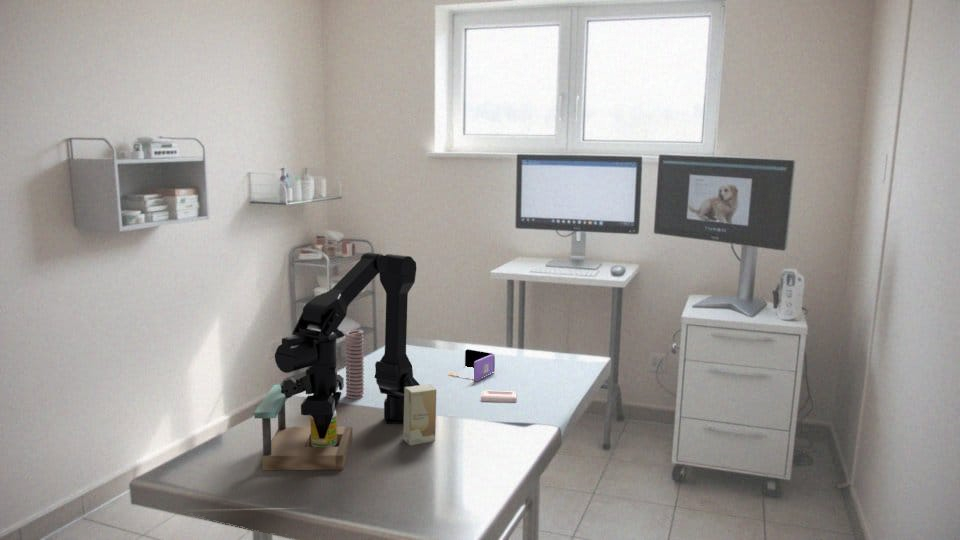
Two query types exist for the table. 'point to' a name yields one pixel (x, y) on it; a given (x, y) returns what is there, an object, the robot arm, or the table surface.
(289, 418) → the table surface
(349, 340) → the coil
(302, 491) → the table surface
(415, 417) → the skincare box
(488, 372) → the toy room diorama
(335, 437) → the supplement bottle
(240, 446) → the table surface
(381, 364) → the robot arm
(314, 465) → the socket plate
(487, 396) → the soap bar
